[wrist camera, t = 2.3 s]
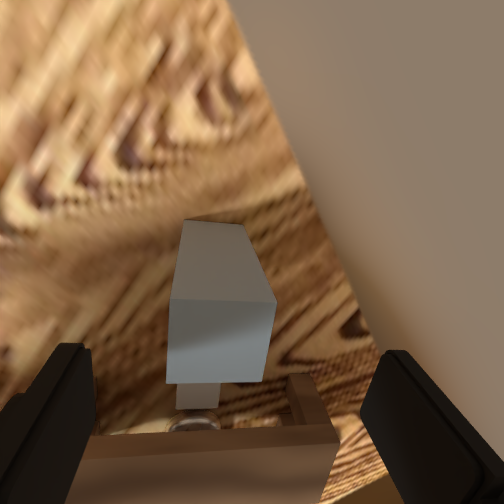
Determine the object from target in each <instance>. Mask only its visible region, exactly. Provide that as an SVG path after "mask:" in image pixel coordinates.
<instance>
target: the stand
mask: <svg viewBox="0 0 504 504" xmlns="http://www.w3.org/2000/svg"><path fill="white" fill-rule="evenodd" d="M93 383H94V395H95V401H96V398H97V396H98V393H97V378H96V377H93ZM285 392H286V395H287V399H288V402H289V405H290V408H291V411H292V413H290V414H279V417H278V421H277V425H276V427H256V428H237V429H217V430H198V431H178V432H159V433H139V434H120V435H100V422H95V424H94V427H93V430H92V432H91V435H90V438H89V440H88V443H87V446H86V448H85V451H84V453H83V456H82V459H81V461H80V464H79V467H78V469H77V472H76V475H75V477H74V480H73V482H72V485H71V488H70V490H69V493H68V496H67V498H66V501H65V503H64V504H314V503H319V501H320V498H321V495H322V493H323V490H324V487H325V484H326V482H327V479H328V476H329V474H330V471H331V468H332V465H333V463H334V460H335V457H336V454H337V452H338V449H339V446H340V440H339V438H338V436H337V434H336V431H335V429H334V427H333V425H332V422H331V420H330V418H329V416H328V413H327V411H326V409H325V407H324V404H323V402H322V400H321V398H320V395H319V393H318V391H317V389H316V386H315V384H314V382H313V380H312V377H311V375H310V374H289V376H288V380H287V384H286V388H285Z"/></svg>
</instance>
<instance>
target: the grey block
mask: <svg viewBox="0 0 504 504" xmlns="http://www.w3.org/2000/svg"><path fill="white" fill-rule="evenodd" d="M276 308H277V300H276V298H275V296H274V294H273V291H272V289H271V287H270V284H269V282H268V280H267V278H266V275H265V273H264V271H263V269H262V266H261V264H260V262H259V260H258V257H257V255H256V253H255V251H254V248H253V246H252V244H251V242H250V239H249V237H248V235H247V232H246V230H245V228H244V226H243V225H239V224H228V223H217V222H206V221H195V220H184V223H183V228H182V234H181V239H180V245H179V250H178V256H177V261H176V267H175V272H174V278H173V284H172V289H171V295H170V304H169V327H168V349H167V371H166V384H177V394H176V410H177V409H205V408H218V403H219V395H220V388H221V383H230V382H262V378H263V373H264V368H265V363H266V358H267V353H268V348H269V343H270V338H271V333H272V328H273V323H274V318H275V313H276Z"/></svg>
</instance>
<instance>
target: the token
mask: <svg viewBox="0 0 504 504" xmlns="http://www.w3.org/2000/svg"><path fill="white" fill-rule="evenodd" d="M217 429H221V424H220V420H219V418H218V417H217V416H216V415H215V414H214V413H212V412H210V411H207V410H204V409H190V410H185V411H183V412H180V413H178V414H176V415H175V416H174V417H172V418H171V419H170V420H169V422H168V423H167V426H166V430H165V432H178V431H198V430H217Z"/></svg>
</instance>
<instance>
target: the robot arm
mask: <svg viewBox="0 0 504 504" xmlns="http://www.w3.org/2000/svg"><path fill="white" fill-rule="evenodd" d="M360 416H361V419H362V422H363V424H364V426H365V428H366V429H367V431H368V433H369V435H370V437H371V439H372V441H373V443H374V445H375V447H376V449H377V451H378V453H379V455H380V457H381V459H382V460H383V462H384V464H385V466H386V468H387V470H388V472H389V474H390V476H391V478H392V480H393V482H394V484H395V486H396V488H397V490H398V492H399V493H400V495H401V497H402V499H403V501H404V503H405V504H504V462H503V461H502V460H501V458H500V457H499V456H498V455H497V454H496V453H495V451H494V450H493V449H492V448H491V447H490V446H489V445H488V443H487V442H486V441H485V440H484V439H483V438H482V436H481V435H480V434H479V433H478V432H477V431H476V430H475V429H474V427H473V426H472V425H471V424H470V423H469V422H468V421H467V419H466V418H465V417H464V416H463V415H462V414H461V412H460V411H459V410H458V409H457V408H456V407H455V406H454V405H453V404H452V402H451V401H450V400H449V399H448V398H447V396H446V395H445V394H444V393H443V392H442V391H441V389H440V388H439V387H438V386H437V385H436V384H435V383H434V381H433V380H432V379H431V378H430V377H429V376H428V375H427V373H426V372H425V371H424V370H423V369H422V368H421V367H420V365H419V364H418V363H417V362H416V361H415V360H414V359H413V357H412V356H411V355H410V354H409V353H408V352H407V351H405V350H388V351H386V352H385V354H383V355H382V356H381V358H380V361H379V363H378V366H377V368H376V371H375V373H374V376H373V378H372V381H371V383H370V386H369V388H368V391H367V393H366V396H365V398H364V401H363V403H362V406H361V409H360ZM95 419H96V407H95V395H94V383H93V371H92V359H91V350H90V349H85V347H84V344H83V343H60V344H59V345H58V346H57V347H56V348H55V350H54V351H53V353H52V354H51V356H50V357H49V359H48V360H47V362H46V363H45V365H44V366H43V368H42V369H41V370H40V372H39V373H38V375H37V376H36V378H35V379H34V381H33V382H32V384H31V385H30V387H29V388H28V390H27V391H26V392H25V393H17V394H16V395H14V396H13V397H12V398H11V399H10V400H9V401H8V402H7V404H6V405H5V407H4V408H3V409H2V411H1V412H0V504H64V503H65V501H66V498H67V496H68V493H69V490H70V488H71V485H72V482H73V480H74V477H75V475H76V472H77V469H78V467H79V464H80V461H81V459H82V456H83V453H84V451H85V448H86V446H87V443H88V440H89V438H90V435H91V432H92V430H93V427H94V424H95Z"/></svg>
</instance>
